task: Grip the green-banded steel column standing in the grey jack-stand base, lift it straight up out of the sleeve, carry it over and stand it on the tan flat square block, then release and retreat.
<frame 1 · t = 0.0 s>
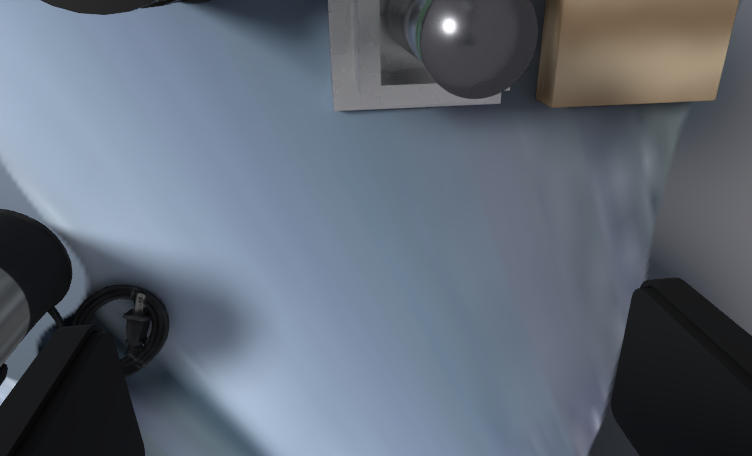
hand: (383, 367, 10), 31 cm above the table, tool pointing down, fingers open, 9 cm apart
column: (419, 16, 36), point 1 cm above the table, touching stand base
stand base: (416, 15, 37), on the table
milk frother: (64, 283, 43), on the table
tan flat square block: (627, 9, 38), on the table
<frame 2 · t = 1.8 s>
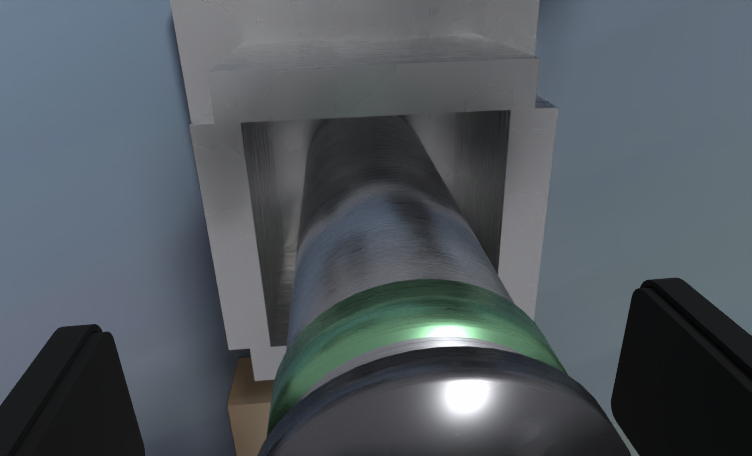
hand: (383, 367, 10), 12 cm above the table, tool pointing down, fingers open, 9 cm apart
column: (365, 166, 20), point 1 cm above the table, touching stand base
stand base: (364, 158, 21), on the table
tan flat square block: (375, 444, 27), on the table
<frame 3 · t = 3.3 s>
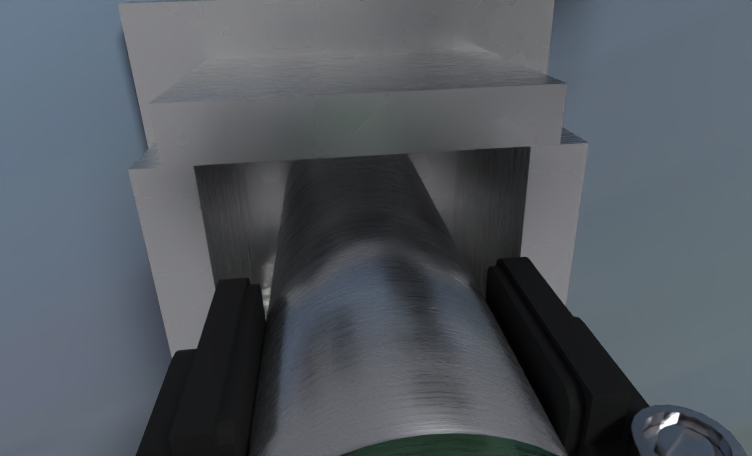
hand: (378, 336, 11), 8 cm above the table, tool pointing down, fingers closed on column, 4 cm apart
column: (353, 199, 17), point 1 cm above the table, touching gripper, stand base
stand base: (351, 188, 18), on the table
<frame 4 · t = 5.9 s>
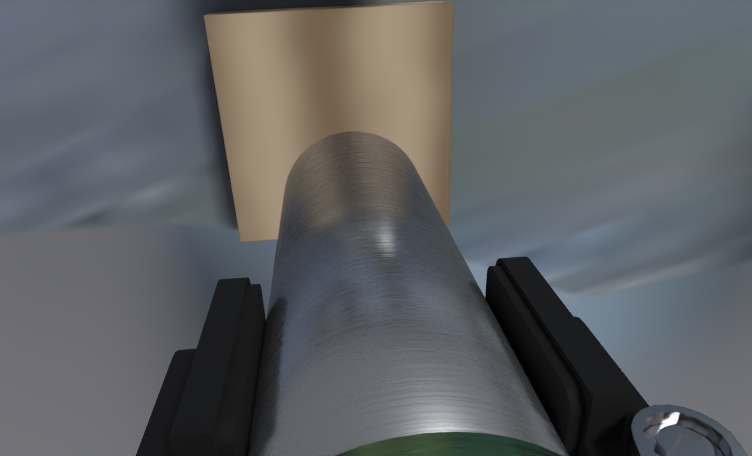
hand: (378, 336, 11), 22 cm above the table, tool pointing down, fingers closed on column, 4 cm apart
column: (353, 198, 17), point 15 cm above the table, touching gripper
tan flat square block: (337, 118, 31), on the table
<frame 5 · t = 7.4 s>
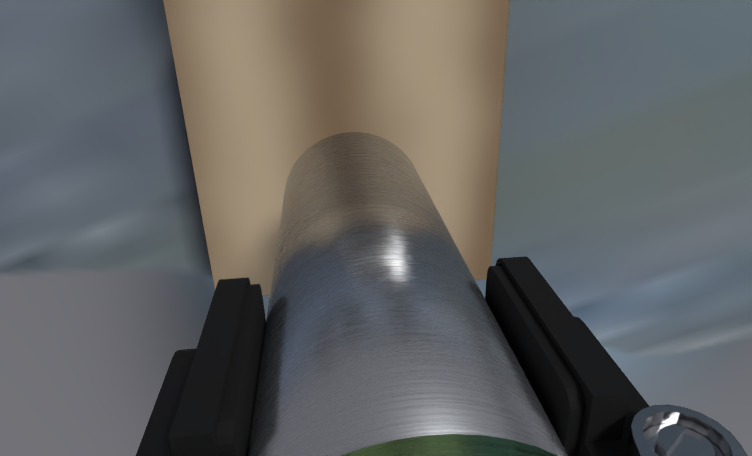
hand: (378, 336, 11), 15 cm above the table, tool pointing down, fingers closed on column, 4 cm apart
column: (353, 199, 17), point 7 cm above the table, touching gripper
tan flat square block: (345, 137, 24), on the table
when the fingers open (12 cm above the table, at t = 8.7 s): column drops 1 cm, resting on tan flat square block.
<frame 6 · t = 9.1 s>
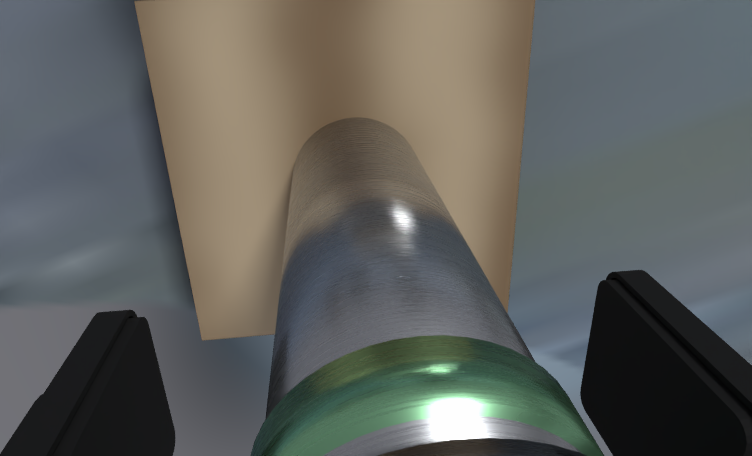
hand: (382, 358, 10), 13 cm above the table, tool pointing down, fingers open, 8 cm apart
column: (356, 180, 19), point 3 cm above the table, touching tan flat square block
tan flat square block: (346, 157, 21), on the table
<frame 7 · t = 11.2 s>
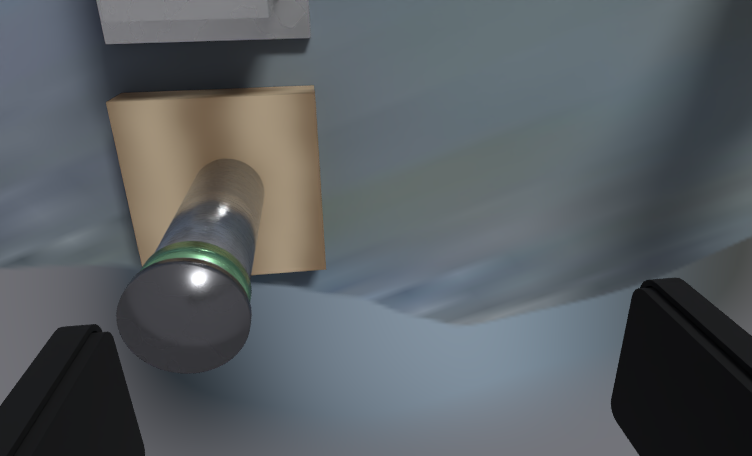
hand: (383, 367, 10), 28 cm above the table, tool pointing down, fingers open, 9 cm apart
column: (229, 192, 34), point 3 cm above the table, touching tan flat square block
tan flat square block: (231, 178, 37), on the table
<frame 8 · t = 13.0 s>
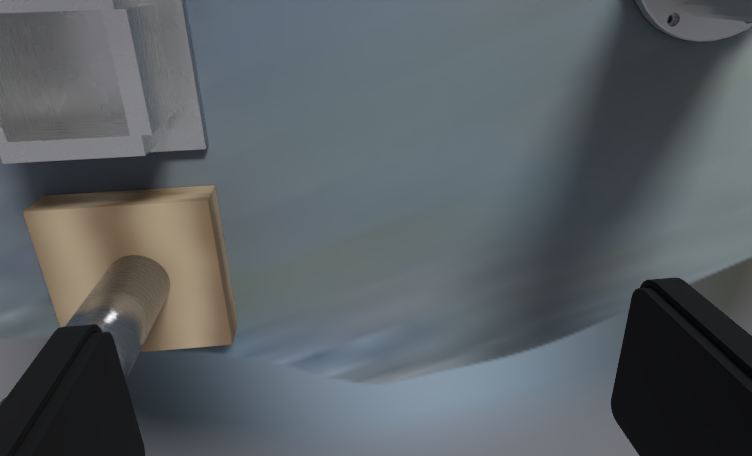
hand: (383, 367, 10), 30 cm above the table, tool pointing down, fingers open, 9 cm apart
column: (138, 282, 39), point 3 cm above the table, touching tan flat square block
stand base: (99, 60, 35), on the table
tan flat square block: (147, 263, 41), on the table
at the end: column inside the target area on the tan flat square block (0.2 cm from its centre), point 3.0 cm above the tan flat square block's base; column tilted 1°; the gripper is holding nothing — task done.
